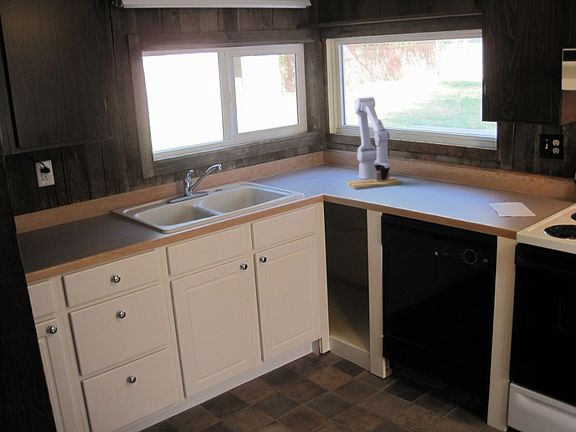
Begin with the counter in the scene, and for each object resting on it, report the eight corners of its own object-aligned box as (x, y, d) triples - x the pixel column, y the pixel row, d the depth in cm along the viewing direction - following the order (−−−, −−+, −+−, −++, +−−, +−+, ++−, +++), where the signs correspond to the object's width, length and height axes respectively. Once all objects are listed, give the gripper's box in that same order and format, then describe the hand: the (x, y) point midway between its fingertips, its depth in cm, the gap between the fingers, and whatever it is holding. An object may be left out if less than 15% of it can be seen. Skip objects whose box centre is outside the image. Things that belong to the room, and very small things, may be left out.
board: (346, 184, 337) (346, 181, 336) (391, 179, 343) (391, 176, 342) (355, 189, 324) (355, 186, 323) (402, 184, 329) (402, 181, 329)
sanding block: (374, 180, 335) (373, 171, 333) (386, 179, 336) (386, 170, 335) (376, 182, 331) (376, 172, 330) (389, 180, 333) (389, 171, 331)
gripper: (369, 152, 336) (370, 177, 339) (380, 156, 322) (380, 182, 326) (382, 151, 337) (382, 175, 341) (392, 155, 324) (393, 181, 327)
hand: (382, 179), depth 334 cm, fingers closed on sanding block, 4 cm apart
